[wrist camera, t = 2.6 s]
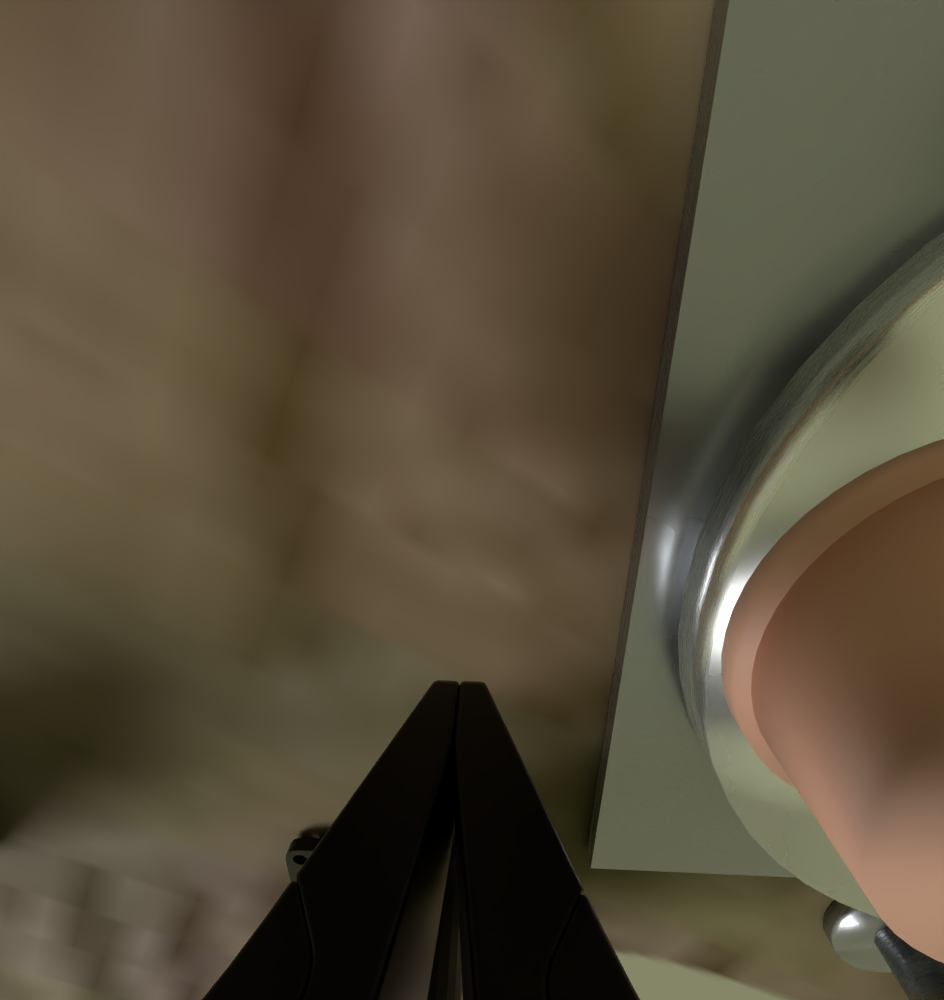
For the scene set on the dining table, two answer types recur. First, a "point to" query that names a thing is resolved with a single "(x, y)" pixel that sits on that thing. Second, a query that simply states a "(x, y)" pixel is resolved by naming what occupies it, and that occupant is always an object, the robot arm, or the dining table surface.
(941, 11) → the base plate
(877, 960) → the silver chess pawn
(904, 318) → the turntable
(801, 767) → the cover
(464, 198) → the dining table surface
